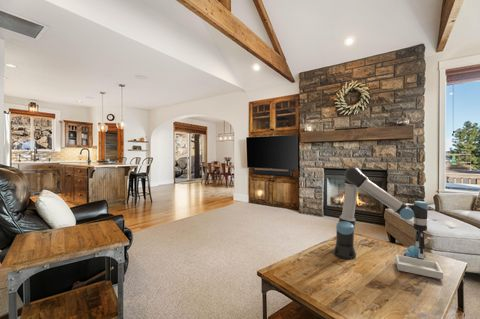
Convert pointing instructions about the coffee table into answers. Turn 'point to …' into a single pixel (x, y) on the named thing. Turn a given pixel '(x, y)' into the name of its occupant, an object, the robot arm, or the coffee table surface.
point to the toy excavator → (417, 249)
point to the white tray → (419, 267)
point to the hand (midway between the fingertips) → (419, 254)
